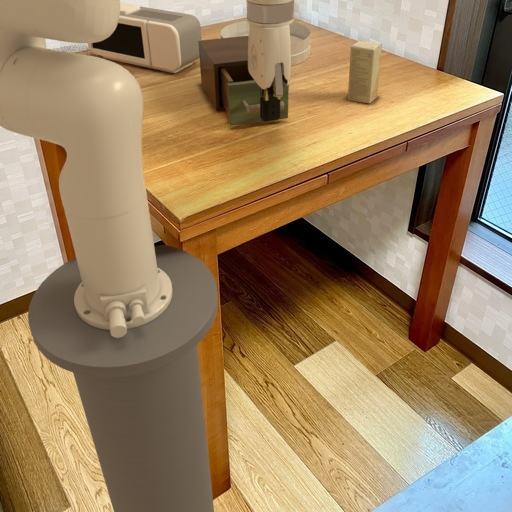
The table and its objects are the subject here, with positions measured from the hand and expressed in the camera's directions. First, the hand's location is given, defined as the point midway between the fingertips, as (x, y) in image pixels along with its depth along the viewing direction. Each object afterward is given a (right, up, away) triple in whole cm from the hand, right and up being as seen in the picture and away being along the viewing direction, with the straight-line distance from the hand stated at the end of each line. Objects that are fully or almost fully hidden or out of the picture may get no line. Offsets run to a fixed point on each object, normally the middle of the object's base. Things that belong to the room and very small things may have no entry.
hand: (270, 118), depth 106 cm
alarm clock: (-29, +22, +37) cm, 52 cm away
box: (+19, +8, +18) cm, 28 cm away
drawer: (-3, +4, +11) cm, 12 cm away
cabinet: (-6, +10, +20) cm, 24 cm away
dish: (0, +25, +41) cm, 48 cm away
